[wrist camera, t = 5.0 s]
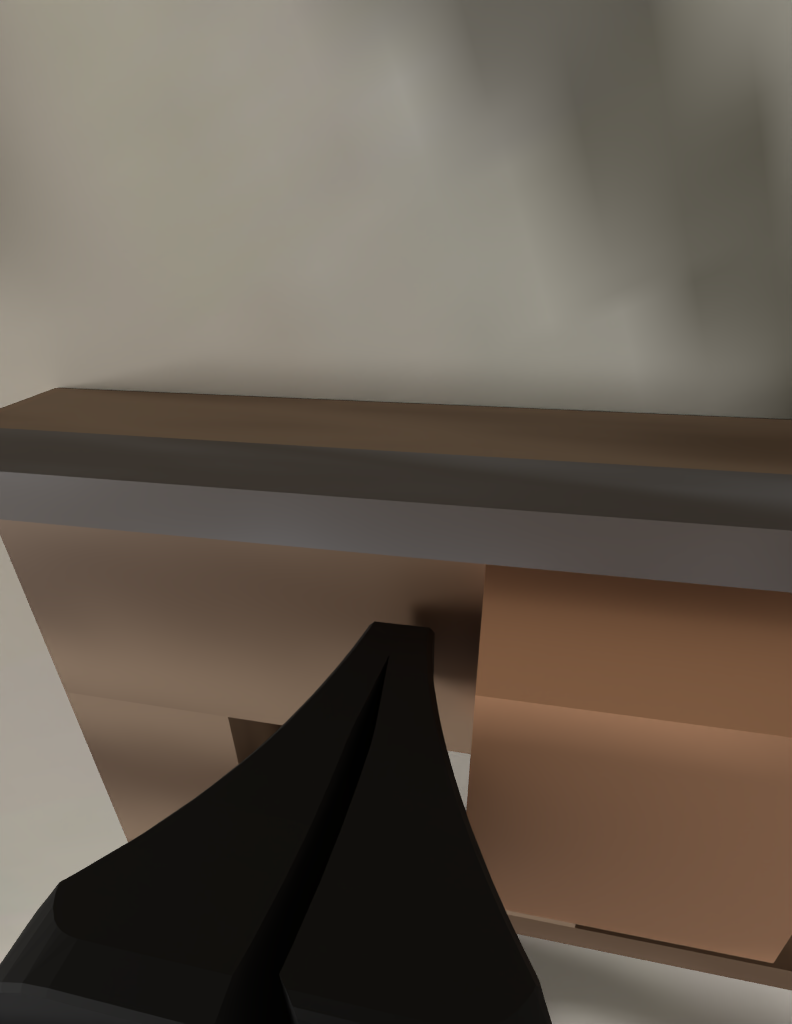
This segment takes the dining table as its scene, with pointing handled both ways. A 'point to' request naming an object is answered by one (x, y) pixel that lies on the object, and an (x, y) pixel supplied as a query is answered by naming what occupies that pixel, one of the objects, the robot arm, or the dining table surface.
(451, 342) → the dining table surface
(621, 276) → the dining table surface
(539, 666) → the block
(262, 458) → the deck
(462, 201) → the dining table surface
